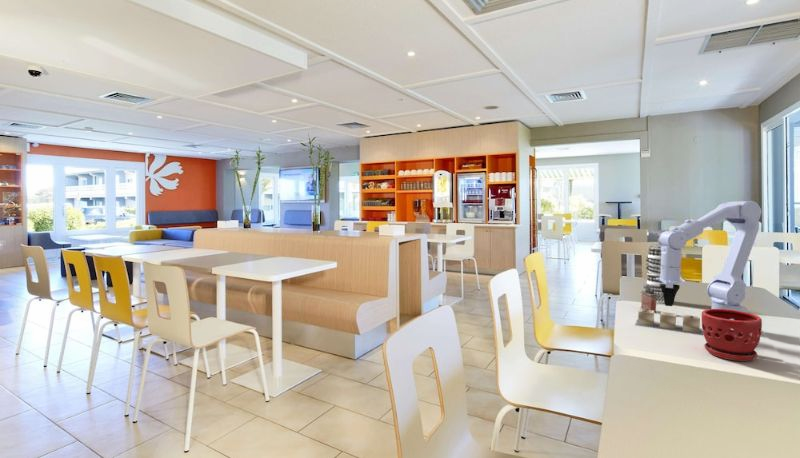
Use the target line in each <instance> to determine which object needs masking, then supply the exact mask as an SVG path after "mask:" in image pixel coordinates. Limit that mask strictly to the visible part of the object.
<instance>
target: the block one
mask: <svg viewBox="0 0 800 458" xmlns="http://www.w3.org/2000/svg"><path fill="white" fill-rule="evenodd" d="M700 325H701V318H700V316H697V315H691V314H683V315H682V326H683V331H689V332H695V333H699V330H700V328H701V326H700Z"/></svg>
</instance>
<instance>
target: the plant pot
mask: <svg viewBox="0 0 800 458" xmlns="http://www.w3.org/2000/svg"><path fill="white" fill-rule="evenodd" d="M729 319H734V320H729ZM762 327H763V320H762V317H760V315H759V316H758V315H757V314H754V313H750V312H748V313H747V312H742V311H736V310H728V309H711V308H708V309H704V310H702V311H701V330H702V335H703V337H704V339H705V341H706V343H704V344H703V345H704V349H705V350H706V352H708V353H709V354H711V355H712V356H715V357H718V358H720V359H724V360H725V359H726V360H730V361H738V362H747V361H748V362H749V361H753V360H754V359H756V358H757V356H758V352H757V351H755V349H756V348H757V346H758V345H759V343H760V340H761V336H762ZM731 329H733V330H731Z"/></svg>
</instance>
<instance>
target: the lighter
mask: <svg viewBox="0 0 800 458" xmlns="http://www.w3.org/2000/svg"><path fill="white" fill-rule="evenodd" d="M643 289H644V290H641V306H640V309H641V308H642V309H645V310H652V311H654V314H656V313H657V303H656V297H657V294H655V293H654V288H653V287H649V286H646V284H644V285H643Z"/></svg>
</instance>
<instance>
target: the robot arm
mask: <svg viewBox="0 0 800 458" xmlns="http://www.w3.org/2000/svg"><path fill="white" fill-rule="evenodd" d="M762 213H763V210H762V208H761V207H760V205H759V204H758V203H757V202H756V201H754V200H747V201H745V200H741V201H739V200H738V201H732V200H727V201H725V202H723V203H721V204H718V205H717V207H716V208H714V209H712V210H711V211H710V212H707V213H706V214H705V215H703V216H701V217H699V218H698V219H697V220H696V219H685V220H684V221H683V222H684V223H681V224H680V225H678V226H675V227H672V228H671V230H666V231H664V232H661V234H660V235H659V238H657V243H658V245H660V246H661V272H660V278H656V280H659V281H661V282H664V283H666V284H660V288H661V290H662V292H663V296H664V303H663V304H664V306H666V307H673V306H674V302H675V298H676V296H677V293H678V291H679V289H680V286H681V285H680V283H682V279H681V269H682V266H681V265H682V249H683V248H685V246H686V244H687V243H688V242H689V241H691V240H692V239H695V238H696V237H698V236H700V235H702V234H703V233H704V229H706V228H708V227H710V226H712V225H714V224H716V223H718V222H720V221H722V220H726V221H727V222H728V223H729V224H730V225H732V226H733V227H734V229H735V230H736V231H735V233H734V237H733V239H732V241H731V245H730V246H729V247H730V248H729V250H728V253H727V255H726V258H725V262H724V264H723V266H722V270H721V272H720V273H718V274H716V275H715V276H713V278H712V280H711V282H710V283H709V284H708V285H707V287H706V293H707V295H708V297H709V298H710V301H711V308H710V309H728V310H736V311H742V312H747V313H749V311H748V308H747V307H746V306H744V305H741V303H743V302H744V300H745V298H746V288H747V284H746V283H745V281H744V280H743V279H742V277H743V274H744V271H745V268H746V265H747V263H748V260H749V257H750V254H751V252H752V249H753V246H754V244H755V240H756V238H757V235H758V233H759V229H760V218H761V216H762ZM729 320H734V319H729ZM731 330H733V329H731Z"/></svg>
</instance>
